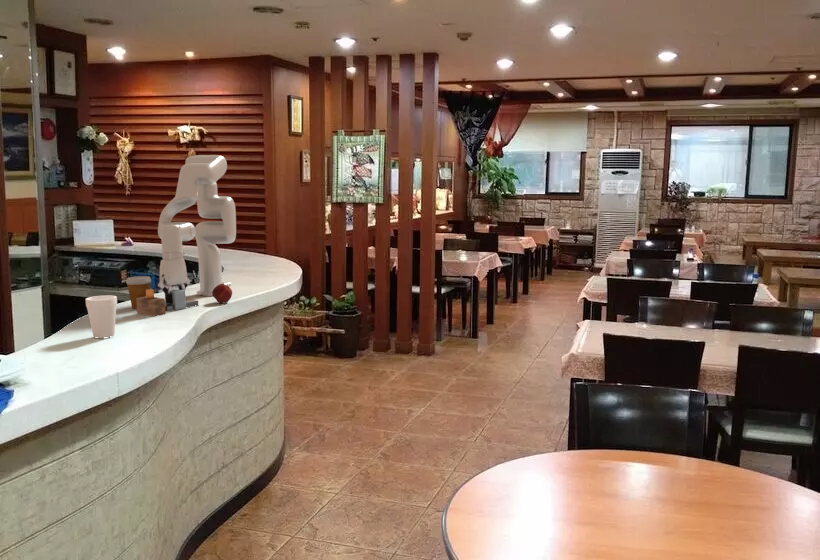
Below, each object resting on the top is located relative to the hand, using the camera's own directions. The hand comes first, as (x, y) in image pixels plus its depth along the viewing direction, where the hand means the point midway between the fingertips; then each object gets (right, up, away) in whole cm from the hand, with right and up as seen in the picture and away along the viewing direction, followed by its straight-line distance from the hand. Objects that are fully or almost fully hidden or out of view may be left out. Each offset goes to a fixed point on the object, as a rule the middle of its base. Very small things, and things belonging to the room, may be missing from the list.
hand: (175, 301), depth 289 cm
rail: (+1, -3, +3) cm, 4 cm away
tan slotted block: (-6, -4, -9) cm, 12 cm away
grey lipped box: (0, -3, 0) cm, 3 cm away
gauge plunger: (-6, +1, -10) cm, 12 cm away
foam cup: (-9, -10, -47) cm, 48 cm away
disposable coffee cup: (-15, -3, +5) cm, 16 cm away
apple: (+15, -1, +12) cm, 20 cm away
